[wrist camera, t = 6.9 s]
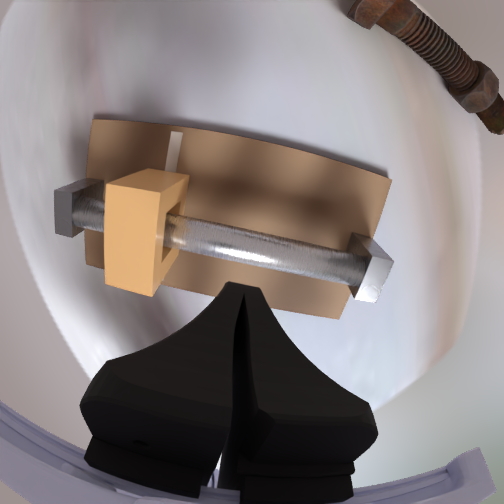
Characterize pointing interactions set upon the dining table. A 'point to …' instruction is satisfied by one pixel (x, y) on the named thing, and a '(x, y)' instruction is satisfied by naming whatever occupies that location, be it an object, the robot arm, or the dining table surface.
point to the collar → (141, 228)
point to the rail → (239, 243)
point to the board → (245, 203)
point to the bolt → (438, 56)
